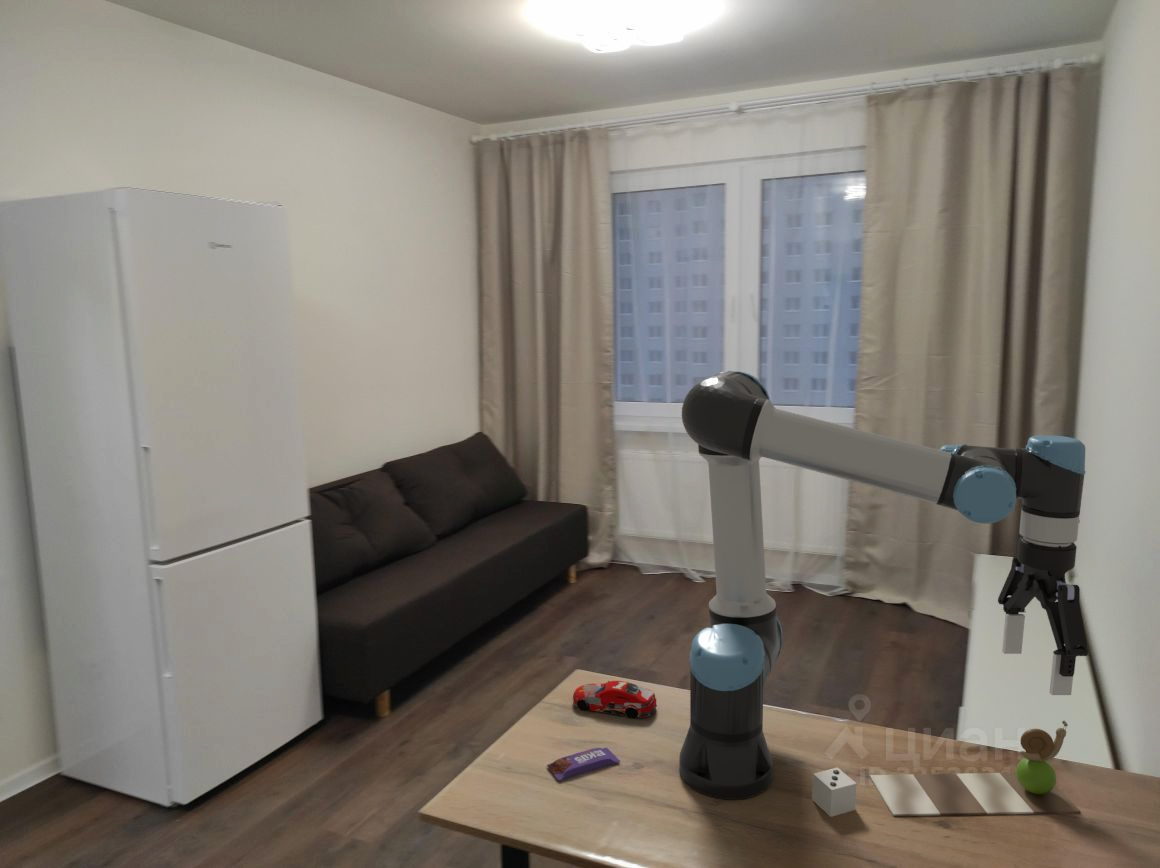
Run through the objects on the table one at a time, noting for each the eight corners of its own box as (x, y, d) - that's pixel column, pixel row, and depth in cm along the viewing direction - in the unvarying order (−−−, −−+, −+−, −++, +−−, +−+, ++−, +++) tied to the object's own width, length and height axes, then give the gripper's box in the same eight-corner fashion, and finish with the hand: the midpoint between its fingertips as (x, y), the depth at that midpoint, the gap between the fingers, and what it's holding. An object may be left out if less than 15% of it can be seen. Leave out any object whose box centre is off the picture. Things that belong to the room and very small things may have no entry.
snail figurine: (1067, 804, 122) (1074, 731, 120) (1021, 799, 123) (1027, 727, 121) (1054, 783, 127) (1060, 713, 125) (1010, 779, 128) (1015, 709, 126)
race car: (567, 710, 154) (567, 686, 153) (580, 694, 160) (579, 670, 159) (649, 724, 148) (649, 699, 147) (659, 707, 154) (659, 683, 153)
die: (830, 817, 120) (831, 789, 120) (812, 800, 125) (813, 772, 124) (855, 810, 122) (856, 782, 121) (836, 793, 126) (837, 766, 125)
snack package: (606, 742, 139) (620, 756, 135) (606, 752, 140) (620, 767, 135) (545, 759, 134) (558, 775, 130) (546, 770, 135) (558, 786, 130)
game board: (893, 816, 120) (893, 814, 120) (869, 776, 130) (869, 775, 130) (1080, 812, 120) (1080, 811, 120) (1042, 773, 130) (1042, 772, 130)
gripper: (1128, 567, 107) (1111, 714, 111) (1027, 516, 132) (1016, 637, 136) (1071, 567, 108) (1056, 713, 111) (982, 516, 132) (972, 638, 136)
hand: (1034, 672), depth 123 cm, fingers open, 13 cm apart
